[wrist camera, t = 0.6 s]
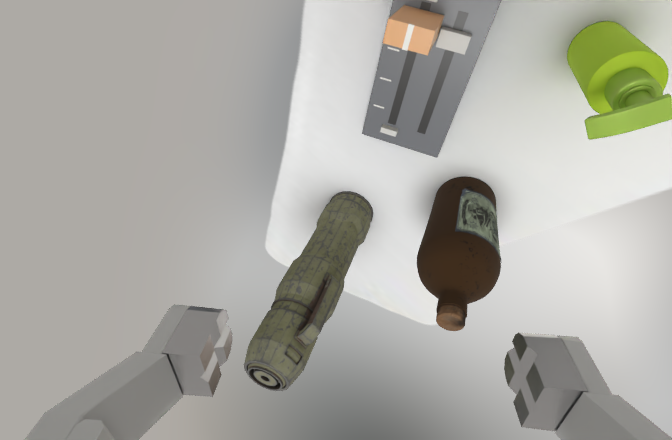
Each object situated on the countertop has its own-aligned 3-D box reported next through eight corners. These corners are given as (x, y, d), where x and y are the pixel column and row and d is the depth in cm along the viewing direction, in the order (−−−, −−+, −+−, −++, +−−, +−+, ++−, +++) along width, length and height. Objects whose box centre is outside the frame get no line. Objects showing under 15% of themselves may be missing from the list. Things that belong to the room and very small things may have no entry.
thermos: (389, 211, 66) (321, 392, 41) (348, 238, 74) (268, 406, 48) (354, 177, 64) (260, 345, 39) (316, 209, 72) (215, 368, 46)
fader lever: (404, 4, 44) (388, 18, 37) (444, 14, 43) (435, 30, 37) (398, 26, 46) (382, 43, 39) (437, 37, 45) (427, 56, 38)
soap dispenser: (552, 40, 43) (580, 99, 29) (624, 10, 40) (699, 61, 25) (562, 86, 46) (593, 162, 31) (631, 62, 42) (703, 136, 27)
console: (404, -38, 43) (398, -35, 41) (505, -13, 42) (505, -9, 39) (365, 128, 58) (359, 138, 55) (438, 151, 56) (435, 162, 54)
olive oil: (467, 236, 64) (455, 361, 46) (418, 202, 63) (386, 316, 45) (515, 199, 57) (524, 329, 39) (461, 160, 56) (444, 275, 38)
